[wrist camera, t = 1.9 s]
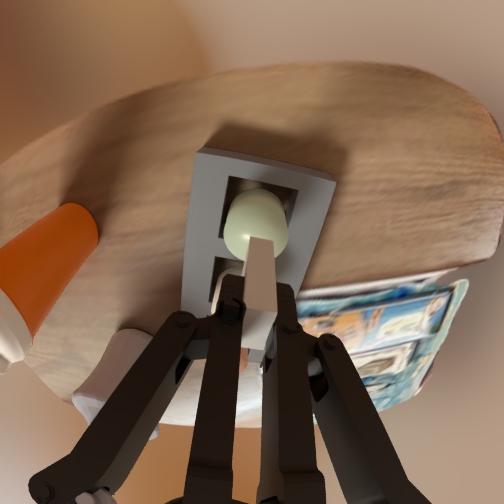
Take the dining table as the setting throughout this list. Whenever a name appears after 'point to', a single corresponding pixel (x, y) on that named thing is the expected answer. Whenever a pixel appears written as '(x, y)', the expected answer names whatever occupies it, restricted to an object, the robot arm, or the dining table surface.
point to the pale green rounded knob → (255, 221)
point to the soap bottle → (111, 373)
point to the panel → (212, 230)
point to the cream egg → (216, 295)
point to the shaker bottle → (39, 274)
